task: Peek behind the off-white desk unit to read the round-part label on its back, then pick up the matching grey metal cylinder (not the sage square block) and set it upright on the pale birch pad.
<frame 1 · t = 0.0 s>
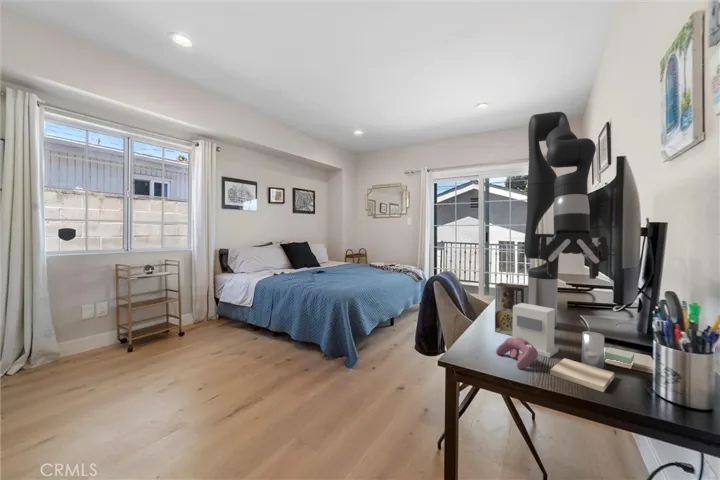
hand: (571, 277, 74), 22 cm above the table, tool pointing down, fingers open, 8 cm apart
desk unit: (532, 348, 86), on the table
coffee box: (511, 333, 99), on the table
video game controller: (516, 361, 77), on the table
birch pad: (581, 376, 69), on the table
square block: (619, 364, 76), on the table
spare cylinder: (592, 365, 75), on the table
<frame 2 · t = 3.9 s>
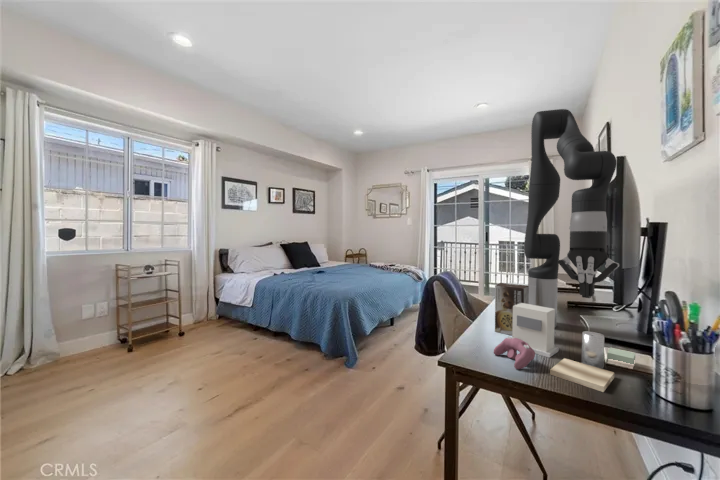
hand: (586, 297, 76), 17 cm above the table, tool pointing down, fingers closed
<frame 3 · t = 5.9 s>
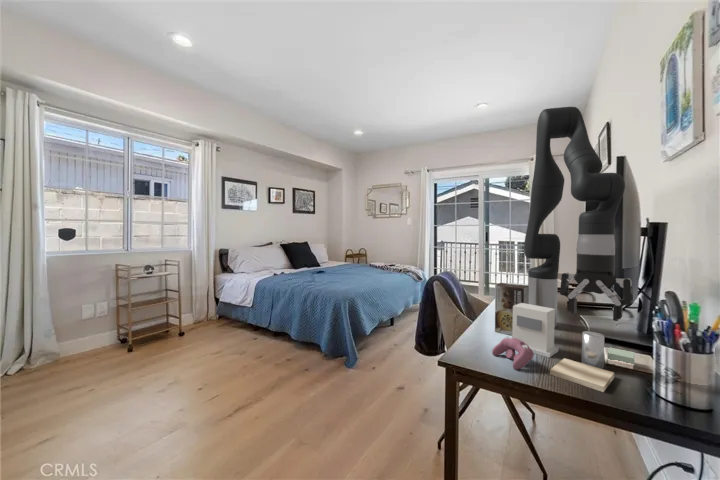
hand: (593, 316, 75), 13 cm above the table, tool pointing down, fingers open, 8 cm apart
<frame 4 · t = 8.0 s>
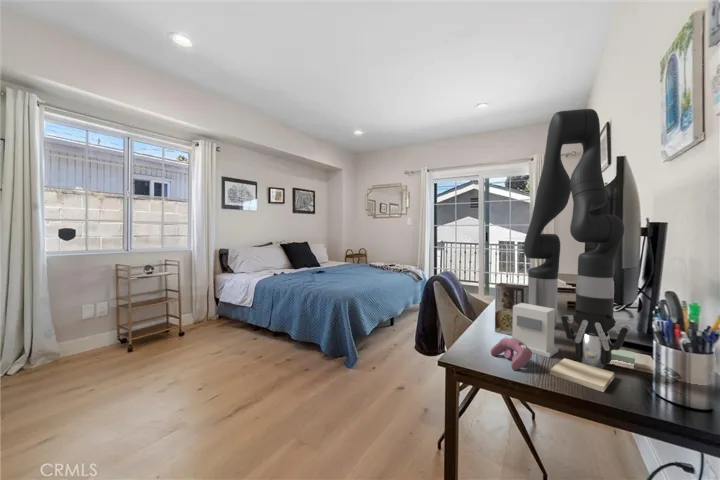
hand: (592, 360, 75), 1 cm above the table, tool pointing down, fingers closed on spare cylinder, 4 cm apart
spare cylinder: (592, 365, 75), on the table, touching gripper
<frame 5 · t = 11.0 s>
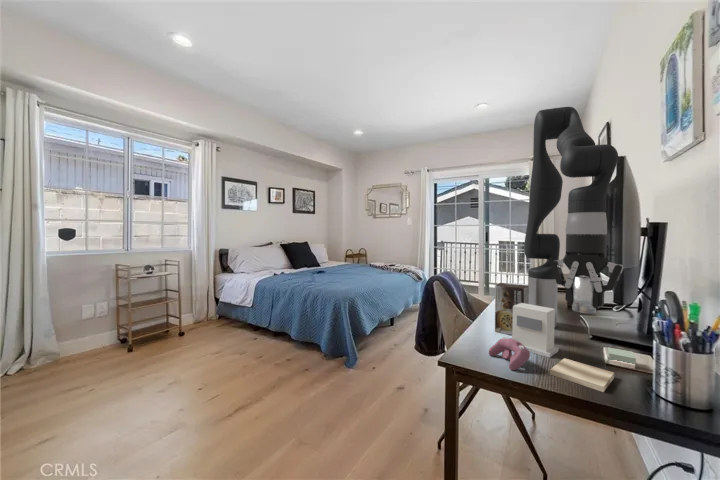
hand: (583, 305, 69), 17 cm above the table, tool pointing down, fingers closed on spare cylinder, 4 cm apart
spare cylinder: (583, 311, 69), point 15 cm above the table, touching gripper
when the fingers open (4 cm above the table, at t = 14.0 s): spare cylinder drops 1 cm, resting on birch pad.
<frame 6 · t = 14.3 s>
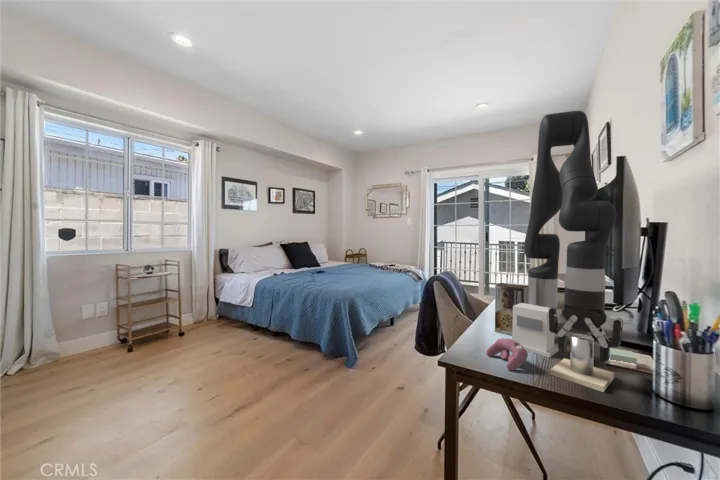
hand: (582, 356, 69), 5 cm above the table, tool pointing down, fingers open, 7 cm apart
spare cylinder: (581, 370, 69), point 1 cm above the table, touching birch pad
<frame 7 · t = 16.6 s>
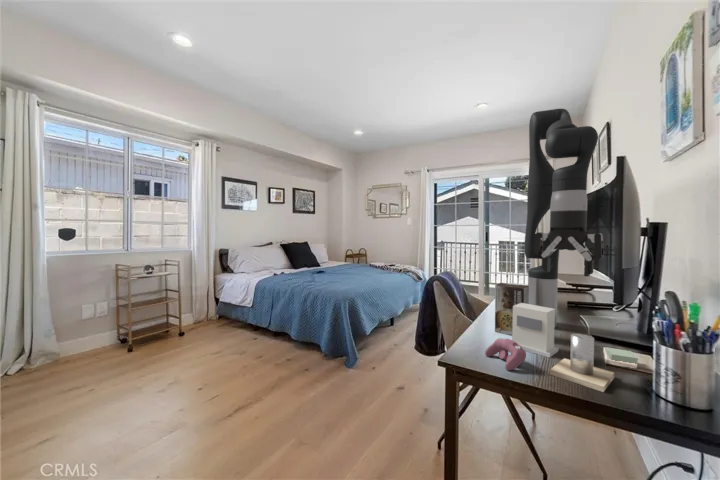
hand: (566, 273, 75), 23 cm above the table, tool pointing down, fingers open, 8 cm apart
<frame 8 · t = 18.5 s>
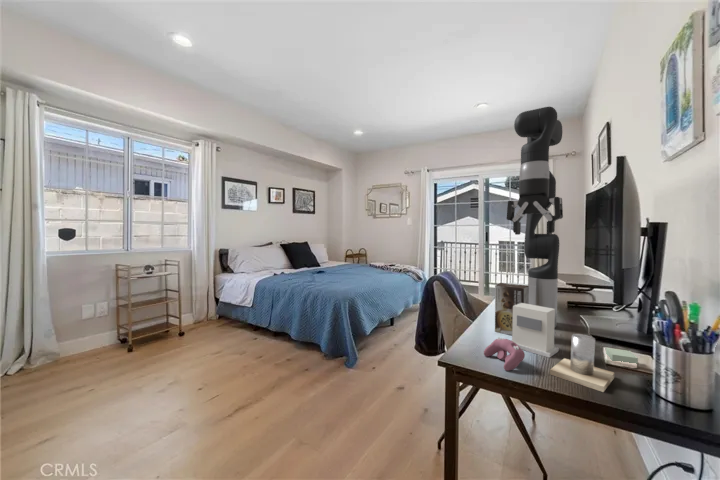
hand: (532, 234, 86), 33 cm above the table, tool pointing down, fingers open, 8 cm apart
at the end: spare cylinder inside the target area (0.1 cm from its centre), point 1.3 cm above the table; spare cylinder tilted 2°; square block moved 0.6 cm from its start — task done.
